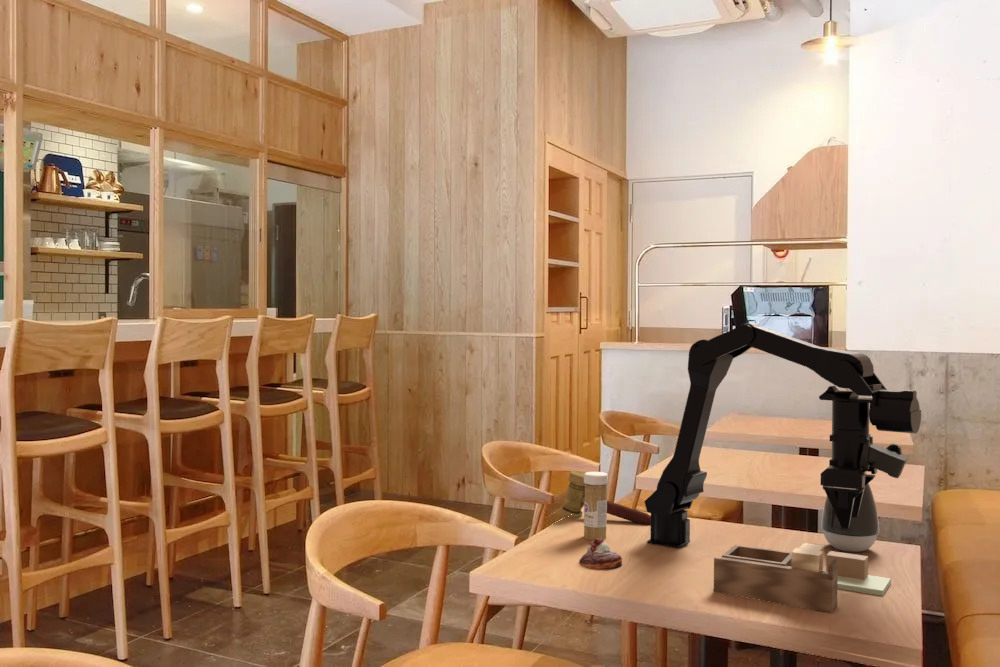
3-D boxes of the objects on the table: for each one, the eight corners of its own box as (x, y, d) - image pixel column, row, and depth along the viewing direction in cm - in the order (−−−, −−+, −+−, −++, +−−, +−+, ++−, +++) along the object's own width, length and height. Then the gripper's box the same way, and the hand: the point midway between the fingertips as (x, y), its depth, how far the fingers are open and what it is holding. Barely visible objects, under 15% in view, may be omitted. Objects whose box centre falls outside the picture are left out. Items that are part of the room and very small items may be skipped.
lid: (816, 587, 144) (817, 560, 144) (827, 576, 150) (827, 550, 150) (882, 598, 138) (883, 570, 138) (890, 585, 145) (891, 559, 145)
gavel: (656, 544, 184) (668, 499, 183) (652, 550, 180) (665, 503, 179) (562, 513, 191) (573, 469, 190) (556, 517, 186) (568, 472, 185)
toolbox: (713, 593, 139) (714, 549, 139) (735, 573, 149) (735, 532, 149) (832, 612, 130) (832, 565, 130) (845, 590, 141) (846, 547, 140)
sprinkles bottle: (578, 541, 171) (579, 472, 171) (596, 538, 173) (597, 470, 173) (593, 546, 167) (594, 475, 167) (612, 543, 169) (612, 473, 169)
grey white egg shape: (817, 551, 164) (818, 470, 164) (824, 539, 174) (825, 462, 173) (876, 558, 160) (877, 475, 159) (881, 545, 169) (882, 466, 169)
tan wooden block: (791, 570, 133) (791, 552, 133) (800, 560, 139) (800, 542, 139) (818, 574, 131) (819, 555, 131) (827, 563, 137) (827, 545, 137)
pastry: (591, 560, 158) (591, 532, 158) (630, 566, 154) (630, 538, 154) (570, 570, 152) (570, 541, 152) (610, 577, 148) (610, 548, 148)
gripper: (897, 438, 134) (896, 540, 134) (909, 425, 150) (908, 517, 150) (820, 433, 139) (819, 531, 139) (840, 421, 155) (839, 510, 156)
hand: (849, 522), depth 146 cm, fingers open, 9 cm apart
